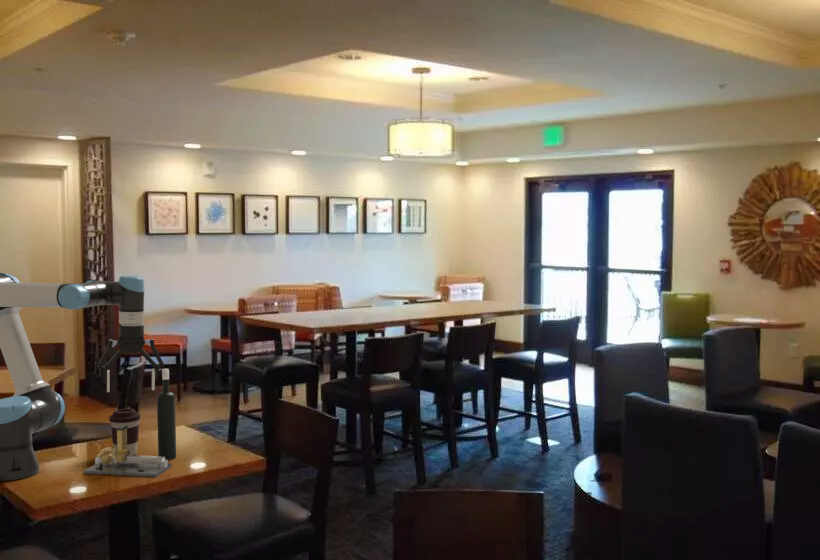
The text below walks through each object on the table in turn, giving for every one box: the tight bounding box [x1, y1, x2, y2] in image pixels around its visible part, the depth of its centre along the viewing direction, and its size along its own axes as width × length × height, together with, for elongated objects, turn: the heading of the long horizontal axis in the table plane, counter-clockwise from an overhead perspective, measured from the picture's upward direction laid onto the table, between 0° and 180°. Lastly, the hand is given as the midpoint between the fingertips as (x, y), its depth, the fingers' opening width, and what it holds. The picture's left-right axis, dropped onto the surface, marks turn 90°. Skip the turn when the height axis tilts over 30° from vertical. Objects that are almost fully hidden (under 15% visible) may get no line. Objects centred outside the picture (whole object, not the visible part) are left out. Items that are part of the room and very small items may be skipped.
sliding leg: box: [112, 425, 130, 468], centre depth 255 cm, size 3×8×12 cm, turn 172°
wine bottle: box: [156, 368, 177, 461], centre depth 268 cm, size 6×6×30 cm
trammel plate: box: [83, 446, 173, 478], centre depth 255 cm, size 24×11×6 cm, turn 82°
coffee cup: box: [108, 408, 141, 455], centre depth 273 cm, size 10×10×15 cm
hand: (130, 390), depth 256 cm, fingers open, 13 cm apart
